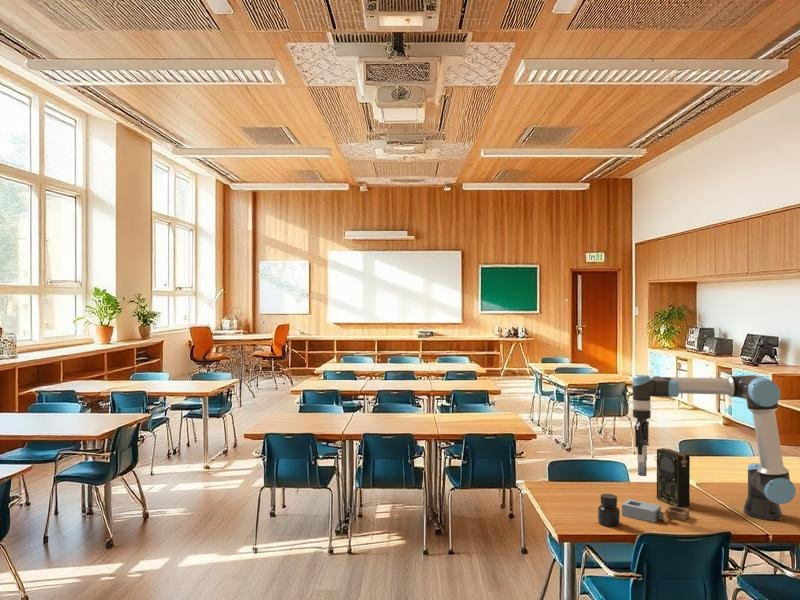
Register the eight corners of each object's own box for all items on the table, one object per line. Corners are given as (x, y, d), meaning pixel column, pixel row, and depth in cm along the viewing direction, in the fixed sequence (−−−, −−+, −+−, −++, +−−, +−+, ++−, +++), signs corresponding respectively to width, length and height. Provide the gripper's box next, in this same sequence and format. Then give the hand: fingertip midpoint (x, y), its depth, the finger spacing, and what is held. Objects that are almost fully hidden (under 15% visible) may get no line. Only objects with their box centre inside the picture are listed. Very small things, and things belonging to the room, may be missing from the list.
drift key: (669, 520, 260) (669, 511, 260) (666, 522, 257) (666, 513, 257) (648, 515, 265) (648, 506, 266) (645, 518, 262) (645, 509, 262)
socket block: (660, 516, 265) (660, 505, 265) (654, 522, 257) (654, 511, 257) (629, 509, 274) (629, 499, 274) (621, 515, 266) (622, 504, 266)
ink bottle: (615, 519, 260) (615, 492, 260) (623, 527, 251) (624, 499, 252) (594, 519, 260) (594, 492, 260) (601, 527, 251) (601, 499, 251)
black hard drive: (654, 498, 290) (654, 448, 291) (668, 497, 293) (668, 447, 293) (677, 509, 275) (677, 455, 276) (692, 507, 278) (692, 454, 278)
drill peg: (647, 474, 267) (647, 439, 268) (645, 476, 264) (644, 441, 265) (639, 473, 270) (638, 438, 270) (636, 475, 267) (636, 440, 267)
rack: (689, 517, 265) (689, 509, 265) (684, 522, 258) (684, 514, 258) (670, 513, 270) (670, 505, 270) (665, 517, 264) (665, 510, 264)
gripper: (639, 406, 276) (639, 455, 276) (627, 410, 263) (627, 463, 263) (655, 407, 272) (656, 458, 271) (644, 412, 259) (645, 465, 258)
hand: (642, 460), depth 267 cm, fingers closed on drill peg, 4 cm apart
